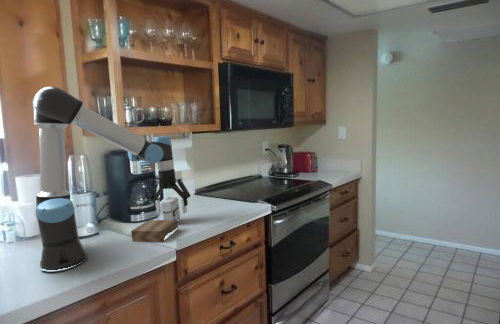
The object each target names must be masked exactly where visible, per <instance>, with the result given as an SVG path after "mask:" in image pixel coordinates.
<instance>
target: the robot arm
mask: <svg viewBox="0 0 500 324" xmlns="http://www.w3.org/2000/svg"><path fill="white" fill-rule="evenodd" d="M32 108H33V120H34V121H33V123H34V125H35V126H36V127H37V128H38V132H39V133H38V134H39V136H38V137H39V170H40V171H39V175H40V177H39V179H40V180H39V181H40V191H38V192H37V193H36V196H35V198H36V201H35V202H36V205H35V206H36V208H35V217H36V219H37V225H38V229H39V233H40V238H41V244H42V251H41V258H40V259H41V260H40V262H39V266H40V267H39V268H40V269H41V268H42V269H46V270H58V269H63V268H68V267H71V266H74V265H77V264H79V263H81V262H83V261H84V260H86V261H87V259H88V254H87V251H86V249H84V247H83V244H82V242H81V240H80V238H79V231H78V226H77V225H78V224H77V220H76V215H75V213H76V212H75V205H74V203H73V200H71V192H70V191H69V190H67V188H66V187H67V184H66V183H67V181H66V180H67V179H66V178H67V177H66V176H67V175H66V138H65V137H66V135H65V134H66V132H65V130H66V128H67V127H68V126H73V125H75V126H76V127H79V128H81V129H83V130H85V131H87V132H88V133H91V134H92V135H95V136H97V137H98V138H101V139H103V140H104V141H106V142H109V143H111V144H112V145H114V146H116V147H117V148H120V149H122V150H123V151H126V152H127V156H128V158H129V161H131V162H133V163H134V162H141V161H143V162H147V163H150V164H156V165H157V167H156V168H157V170H158V171H157V174H158V178H156V179H154V180H152V184H153V185H152V189H151V191H150V195H149V196H148V197H149V200H152V201H153V205H154V207H155V210H156V214H157V215H159V214H160V213H162V211H161V210H162V209H161V208H162V207H161V204H160V203H161V201H160V199H159V198H160V195H161V194H162V193H163V191H164V189H165V190H167V189H168V190H170V189H172V190H174V191H175V193H177V195H179V197H180V198H182V199H181V207H182V214H185V213H187V212H188V210H187V206H188V204H189V203H188V199H189V198H190V197H191V193H190V192H189V190H188V189H187V187H186V185H185V184H184V181H183V178H182V177H180V178H176V171H175V163H174V156H173V148H172V147H173V146H172V141H171V137H170V136H168V135H160V136H155V137H153V141H148V140H146V139H145V138H143V137H141V136H139V135H137V134H135V133H134V132H132V131H130V130H128V129H126V128H124V127H123V126H121V125H119V124H117V123H116V122H114V121H112V120H111V119H108V118H107V117H105V116H103V115H101V114H99V113H97V112H96V111H94V110H92V109H90V108H89V107H86V105H85V102H84V101H81V99H78V98H76V97H75V96H74V95H72V94H70V93H68V92H67V91H66V90H64V89H62V88H60V87H57V86H46V87H43V88H41V89H40V90H38V91H37V93H36V94H35V95H34V97H33V99H32ZM177 184H178V185H177ZM158 185H160V186H159V188H158ZM157 189H158V190H157ZM83 263H84V262H83Z"/></svg>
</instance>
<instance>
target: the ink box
mask: <svg viewBox="0 0 500 324" xmlns="http://www.w3.org/2000/svg"><path fill="white" fill-rule="evenodd" d="M179 205H180V204H179V197H176V196H175V197H171V196H170V197H167V198H165V199H163V200H162V201H161V208H162V209H161V210H162V217H163V219H162V220H177V221H178V220H180V221H181V214H180V206H179Z"/></svg>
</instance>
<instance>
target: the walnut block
mask: <svg viewBox="0 0 500 324" xmlns="http://www.w3.org/2000/svg"><path fill="white" fill-rule="evenodd" d="M176 228H178V229H179V226H178V223H177V220H164V219H148V220H147V221H145V222H144V223H142V224H140V225H139V226H137V227H135V228H134V229H132V230H131V231H130V232H131V240H132V242H136V243H138V242H139V243H163V242H165V241H164V238H165V236H166V235H167V234H168V233H170V232H172V231H173V230H175V229H176Z"/></svg>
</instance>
